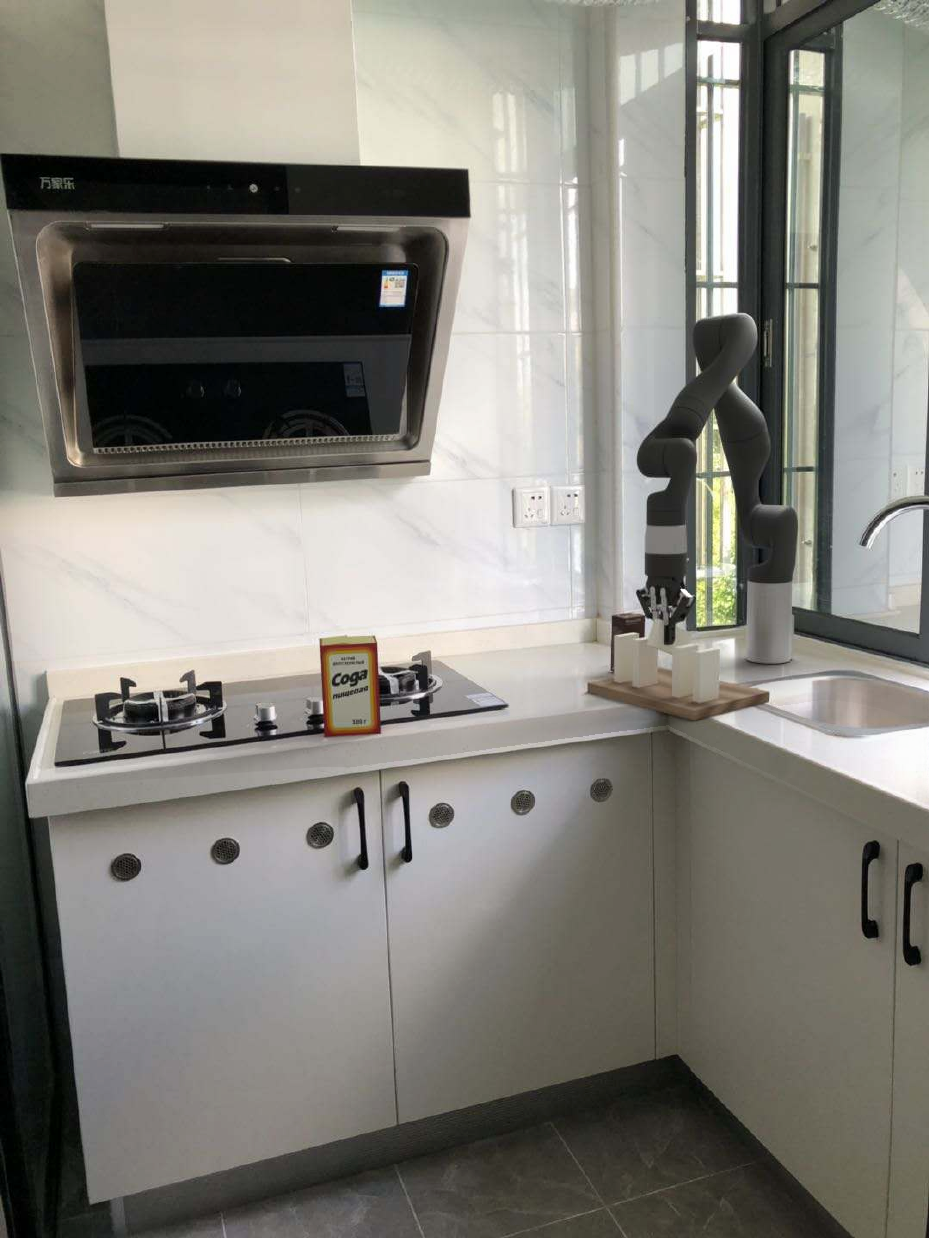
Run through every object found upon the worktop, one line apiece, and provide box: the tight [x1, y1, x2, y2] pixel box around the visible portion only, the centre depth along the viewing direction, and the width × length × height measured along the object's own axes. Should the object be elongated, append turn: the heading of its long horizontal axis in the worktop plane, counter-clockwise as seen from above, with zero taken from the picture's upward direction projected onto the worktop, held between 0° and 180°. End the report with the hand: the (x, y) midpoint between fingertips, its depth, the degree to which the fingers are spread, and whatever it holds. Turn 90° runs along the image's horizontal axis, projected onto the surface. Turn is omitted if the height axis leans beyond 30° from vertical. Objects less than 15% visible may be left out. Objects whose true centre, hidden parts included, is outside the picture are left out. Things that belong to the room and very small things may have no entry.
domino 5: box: [693, 647, 721, 703], centre depth 180 cm, size 2×5×9 cm, turn 125°
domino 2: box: [633, 636, 659, 688], centre depth 192 cm, size 2×5×9 cm, turn 125°
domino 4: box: [671, 643, 699, 698], centre depth 184 cm, size 2×5×9 cm, turn 125°
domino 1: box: [613, 632, 639, 683], centre depth 196 cm, size 2×5×9 cm, turn 125°
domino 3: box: [647, 619, 693, 655], centre depth 188 cm, size 2×5×9 cm
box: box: [610, 611, 646, 673], centre depth 211 cm, size 6×4×12 cm
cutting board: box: [586, 667, 771, 721], centre depth 190 cm, size 20×27×2 cm
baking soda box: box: [318, 635, 382, 738], centre depth 173 cm, size 10×6×16 cm
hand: (664, 643), depth 187 cm, fingers closed on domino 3, 1 cm apart
